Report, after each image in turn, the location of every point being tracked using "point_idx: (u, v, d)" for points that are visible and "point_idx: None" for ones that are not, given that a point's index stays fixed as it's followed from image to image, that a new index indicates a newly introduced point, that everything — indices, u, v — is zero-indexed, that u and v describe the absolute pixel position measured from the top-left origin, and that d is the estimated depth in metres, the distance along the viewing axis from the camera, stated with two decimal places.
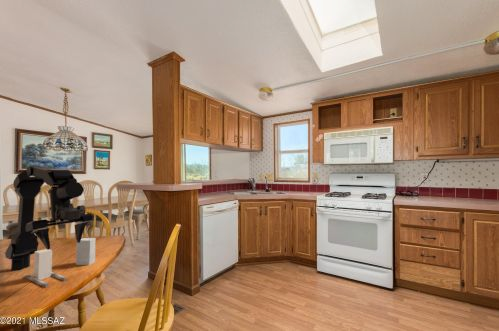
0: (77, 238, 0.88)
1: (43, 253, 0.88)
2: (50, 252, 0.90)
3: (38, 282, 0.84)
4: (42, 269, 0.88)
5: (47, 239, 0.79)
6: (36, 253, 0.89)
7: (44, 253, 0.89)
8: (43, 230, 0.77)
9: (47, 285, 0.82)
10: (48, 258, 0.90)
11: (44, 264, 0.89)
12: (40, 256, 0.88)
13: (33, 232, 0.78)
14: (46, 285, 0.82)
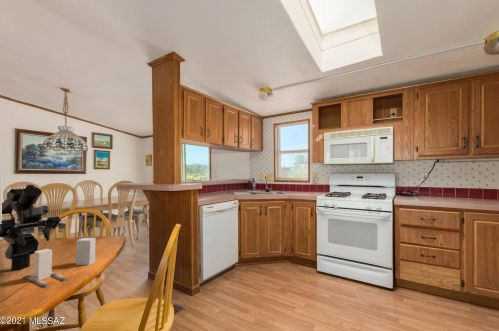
0: (46, 237, 0.97)
1: (43, 253, 0.88)
2: (50, 252, 0.90)
3: (38, 282, 0.84)
4: (42, 269, 0.88)
5: (21, 236, 0.90)
6: (36, 253, 0.89)
7: (44, 253, 0.89)
8: (15, 228, 0.89)
9: (47, 285, 0.82)
10: (48, 258, 0.90)
11: (44, 264, 0.89)
12: (40, 256, 0.88)
13: (7, 234, 0.89)
14: (46, 285, 0.82)
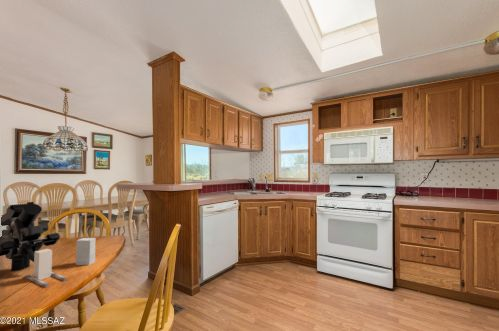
0: None
1: (43, 253, 0.88)
2: (50, 252, 0.90)
3: (38, 282, 0.84)
4: (42, 269, 0.88)
5: (32, 253, 0.93)
6: (36, 253, 0.89)
7: (44, 253, 0.89)
8: (26, 245, 0.92)
9: (47, 285, 0.82)
10: (48, 258, 0.90)
11: (44, 264, 0.89)
12: (40, 256, 0.88)
13: (18, 251, 0.92)
14: (46, 285, 0.82)
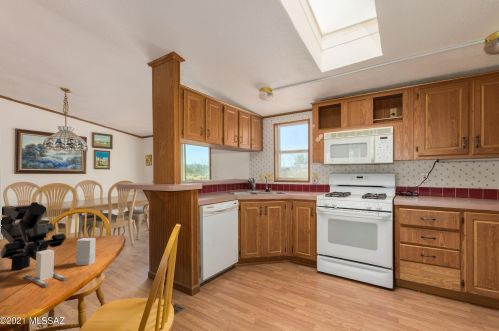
0: None
1: (45, 254, 0.88)
2: (52, 253, 0.90)
3: (38, 282, 0.84)
4: (44, 270, 0.87)
5: None
6: (38, 254, 0.88)
7: (46, 254, 0.88)
8: (32, 246, 0.90)
9: (47, 285, 0.82)
10: (50, 259, 0.89)
11: (46, 265, 0.88)
12: (42, 257, 0.87)
13: (24, 252, 0.90)
14: (46, 285, 0.82)
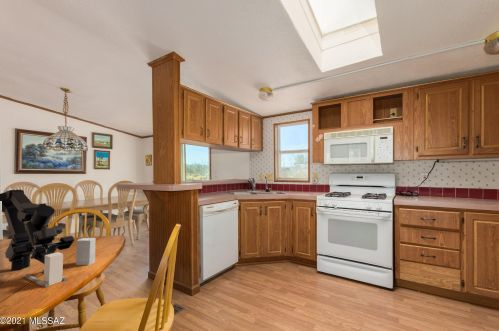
0: None
1: (54, 257, 0.85)
2: (61, 256, 0.87)
3: (38, 282, 0.84)
4: (53, 274, 0.84)
5: None
6: (46, 257, 0.85)
7: (55, 257, 0.85)
8: (40, 249, 0.87)
9: (47, 285, 0.82)
10: (59, 262, 0.86)
11: (55, 269, 0.85)
12: (51, 260, 0.84)
13: (32, 255, 0.86)
14: (46, 285, 0.82)
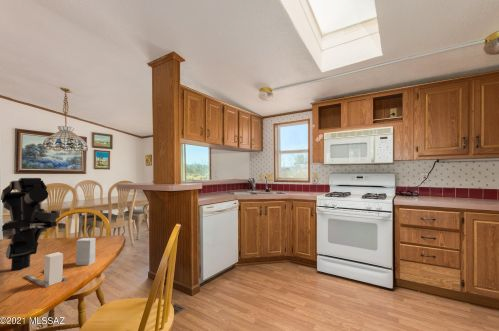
0: None
1: (54, 257, 0.85)
2: (61, 256, 0.87)
3: (38, 282, 0.84)
4: (53, 274, 0.84)
5: (34, 238, 0.90)
6: (46, 257, 0.85)
7: (55, 257, 0.85)
8: (34, 229, 0.90)
9: (47, 285, 0.82)
10: (59, 262, 0.86)
11: (55, 269, 0.85)
12: (51, 260, 0.84)
13: (22, 231, 0.88)
14: (46, 285, 0.82)
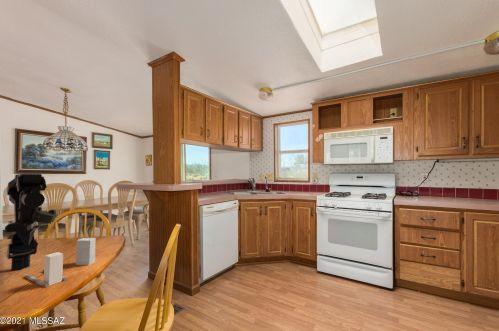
0: None
1: (54, 257, 0.85)
2: (61, 256, 0.87)
3: (38, 282, 0.84)
4: (53, 274, 0.84)
5: (30, 236, 0.91)
6: (46, 257, 0.85)
7: (55, 257, 0.85)
8: (34, 229, 0.91)
9: (47, 285, 0.82)
10: (59, 262, 0.86)
11: (55, 269, 0.85)
12: (51, 260, 0.84)
13: None
14: (46, 285, 0.82)
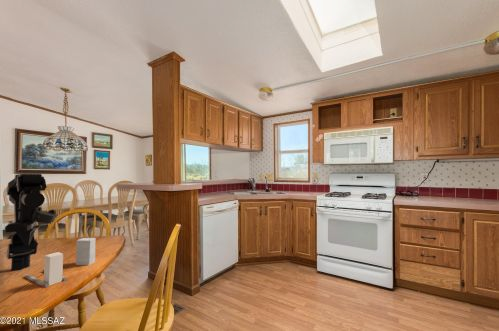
0: None
1: (54, 257, 0.85)
2: (61, 256, 0.87)
3: (38, 282, 0.84)
4: (53, 274, 0.84)
5: (30, 236, 0.91)
6: (46, 257, 0.85)
7: (55, 257, 0.85)
8: (34, 229, 0.91)
9: (47, 285, 0.82)
10: (59, 262, 0.86)
11: (55, 269, 0.85)
12: (51, 260, 0.84)
13: None
14: (46, 285, 0.82)
